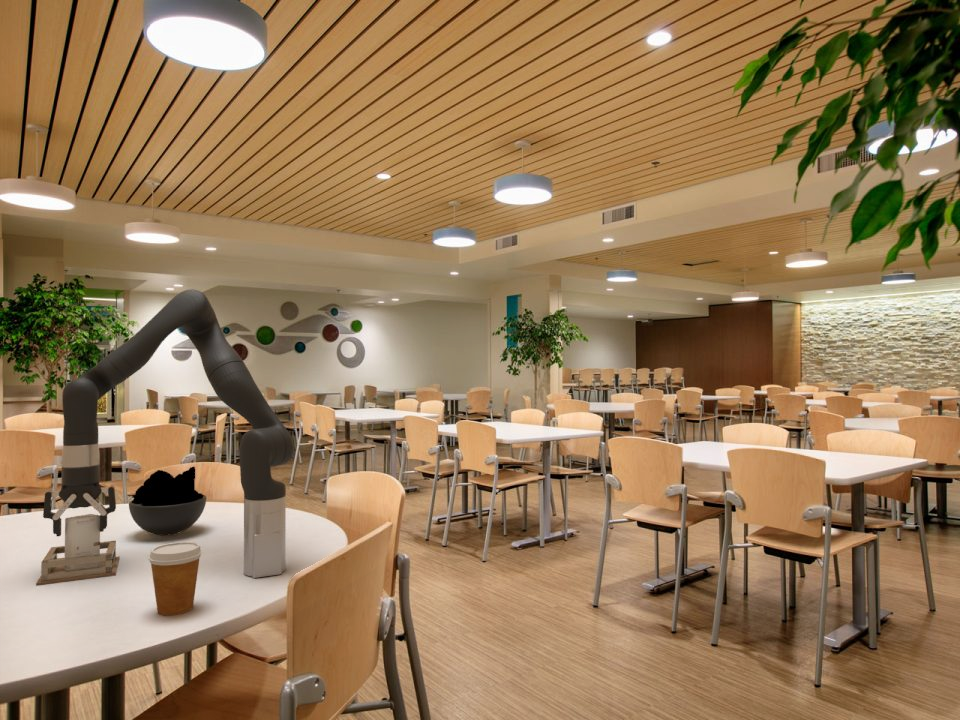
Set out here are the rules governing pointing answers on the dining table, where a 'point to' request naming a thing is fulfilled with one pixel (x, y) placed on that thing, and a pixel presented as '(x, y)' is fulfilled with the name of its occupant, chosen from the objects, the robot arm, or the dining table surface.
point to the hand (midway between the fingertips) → (80, 533)
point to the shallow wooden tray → (53, 561)
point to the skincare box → (82, 539)
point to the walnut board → (81, 576)
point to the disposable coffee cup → (175, 576)
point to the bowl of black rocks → (167, 503)
